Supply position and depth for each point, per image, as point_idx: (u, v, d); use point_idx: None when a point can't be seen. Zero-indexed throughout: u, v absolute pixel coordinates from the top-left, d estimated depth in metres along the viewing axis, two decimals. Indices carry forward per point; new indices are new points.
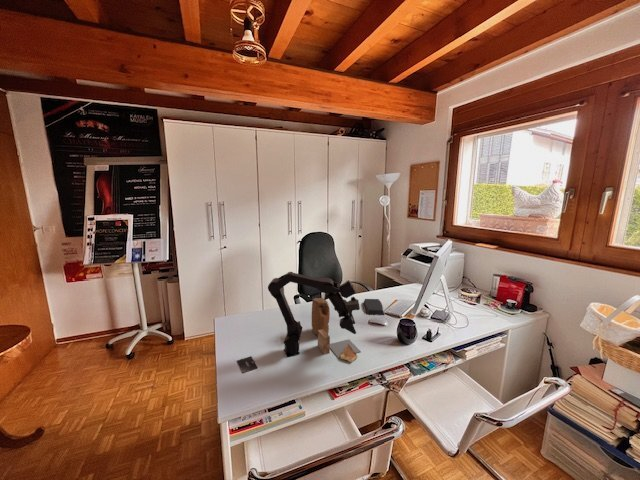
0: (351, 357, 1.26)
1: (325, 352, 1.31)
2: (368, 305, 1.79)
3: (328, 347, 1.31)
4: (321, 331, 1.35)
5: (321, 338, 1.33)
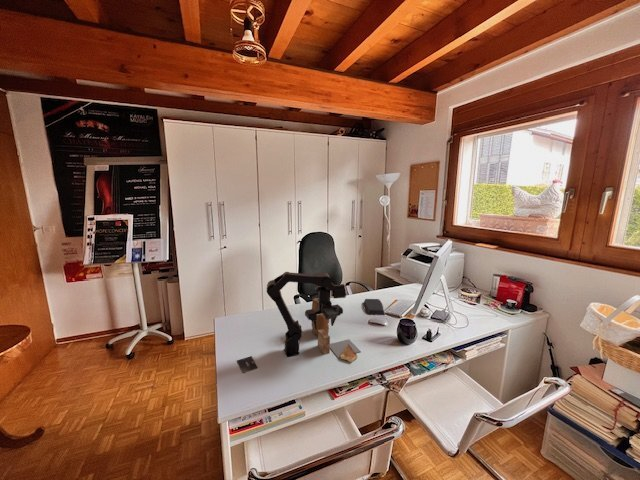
0: (351, 357, 1.26)
1: (325, 352, 1.31)
2: (368, 305, 1.79)
3: (328, 347, 1.31)
4: (321, 331, 1.35)
5: (321, 338, 1.33)
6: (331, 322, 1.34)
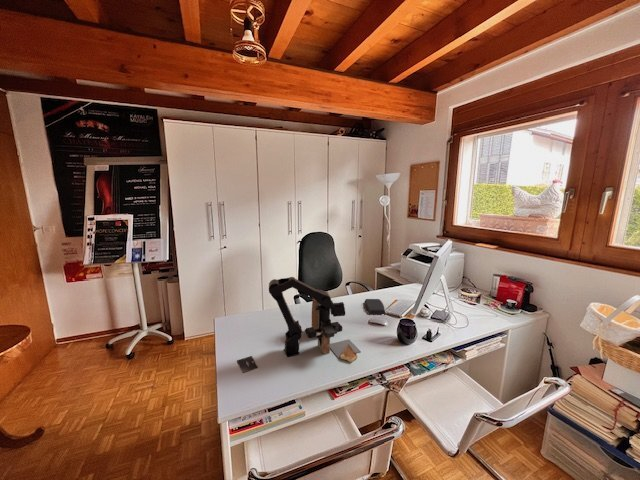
0: (351, 357, 1.26)
1: (325, 352, 1.31)
2: (369, 305, 1.79)
3: (328, 347, 1.31)
4: None
5: (321, 338, 1.33)
6: None
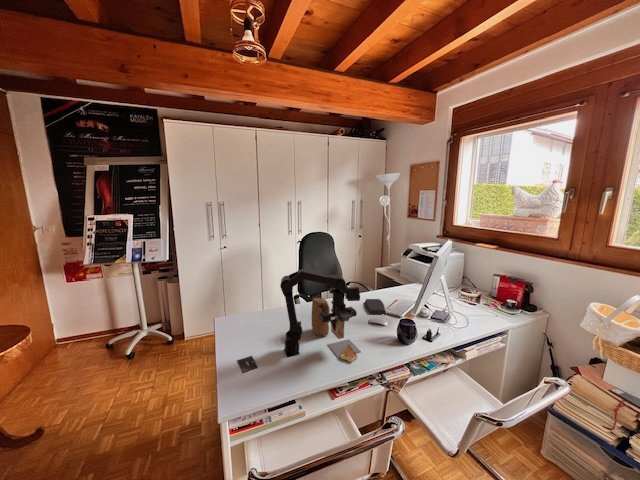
0: (351, 357, 1.26)
1: (339, 337, 1.29)
2: (370, 305, 1.79)
3: (342, 332, 1.29)
4: None
5: None
6: None
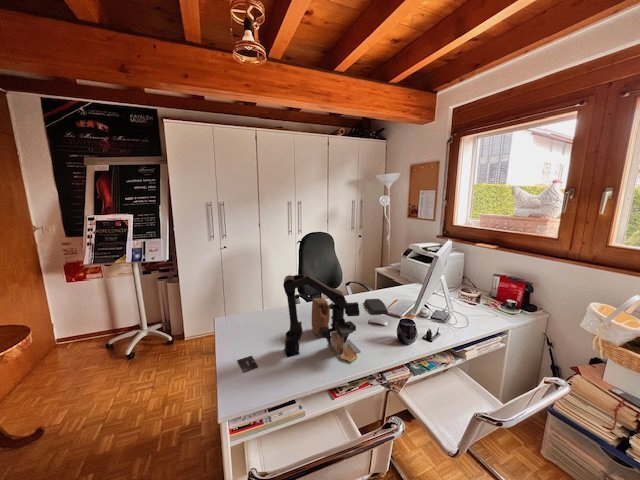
0: (351, 357, 1.26)
1: (339, 352, 1.30)
2: (371, 305, 1.79)
3: (342, 347, 1.30)
4: None
5: (335, 338, 1.32)
6: None
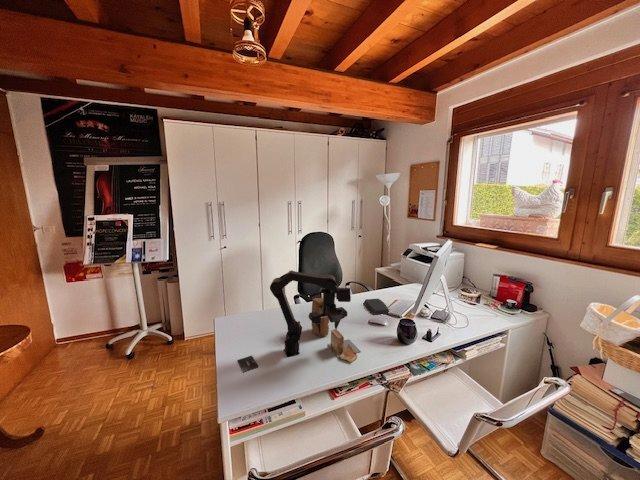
0: (351, 357, 1.26)
1: (339, 352, 1.30)
2: (372, 306, 1.79)
3: (342, 347, 1.30)
4: (334, 331, 1.34)
5: (335, 338, 1.32)
6: (335, 325, 1.32)
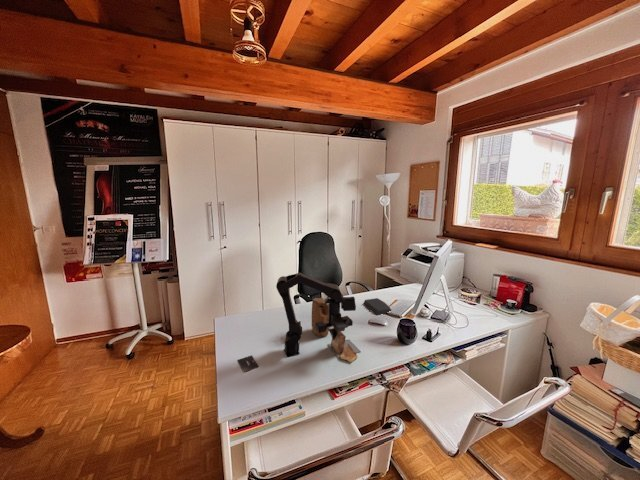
0: (351, 357, 1.26)
1: (339, 352, 1.30)
2: (374, 306, 1.78)
3: (342, 347, 1.31)
4: None
5: (336, 337, 1.32)
6: None
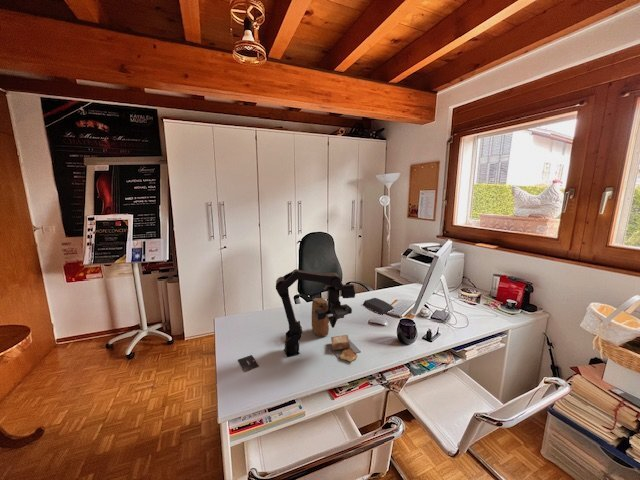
0: (351, 357, 1.26)
1: (333, 345, 1.32)
2: (377, 306, 1.79)
3: (338, 348, 1.32)
4: None
5: (344, 339, 1.35)
6: None
